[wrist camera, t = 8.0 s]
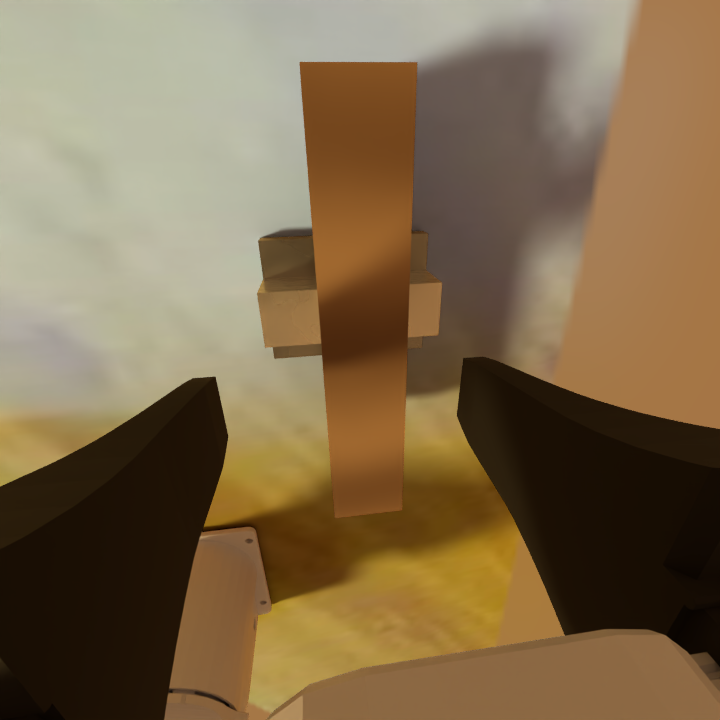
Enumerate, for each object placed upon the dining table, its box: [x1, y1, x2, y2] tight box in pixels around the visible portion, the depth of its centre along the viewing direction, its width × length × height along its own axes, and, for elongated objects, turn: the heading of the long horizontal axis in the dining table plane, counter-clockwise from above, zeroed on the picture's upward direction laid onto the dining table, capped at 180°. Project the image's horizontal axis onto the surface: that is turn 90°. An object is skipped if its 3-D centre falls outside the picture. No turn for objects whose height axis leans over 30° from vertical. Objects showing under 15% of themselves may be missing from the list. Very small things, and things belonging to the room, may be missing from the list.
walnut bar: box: [300, 62, 417, 518], centre depth 15 cm, size 16×3×4 cm, turn 1°
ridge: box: [257, 231, 442, 359], centre depth 18 cm, size 6×8×4 cm
